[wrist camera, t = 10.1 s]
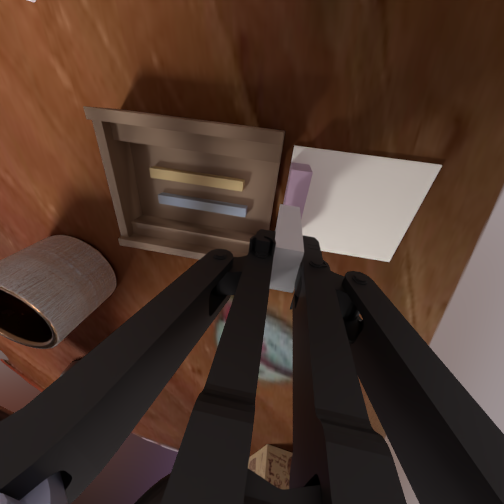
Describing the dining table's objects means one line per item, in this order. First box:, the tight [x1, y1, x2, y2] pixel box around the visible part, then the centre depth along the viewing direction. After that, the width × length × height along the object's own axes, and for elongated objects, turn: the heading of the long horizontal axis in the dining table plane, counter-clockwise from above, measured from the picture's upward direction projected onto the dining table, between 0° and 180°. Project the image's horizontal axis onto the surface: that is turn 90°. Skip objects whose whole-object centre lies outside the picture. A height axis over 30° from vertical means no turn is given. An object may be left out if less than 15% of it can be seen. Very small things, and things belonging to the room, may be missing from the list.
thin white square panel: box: [283, 145, 442, 262], centre depth 19 cm, size 12×10×4 cm
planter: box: [0, 235, 117, 349], centre depth 27 cm, size 11×11×10 cm
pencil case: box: [83, 106, 285, 260], centre depth 20 cm, size 15×12×4 cm
